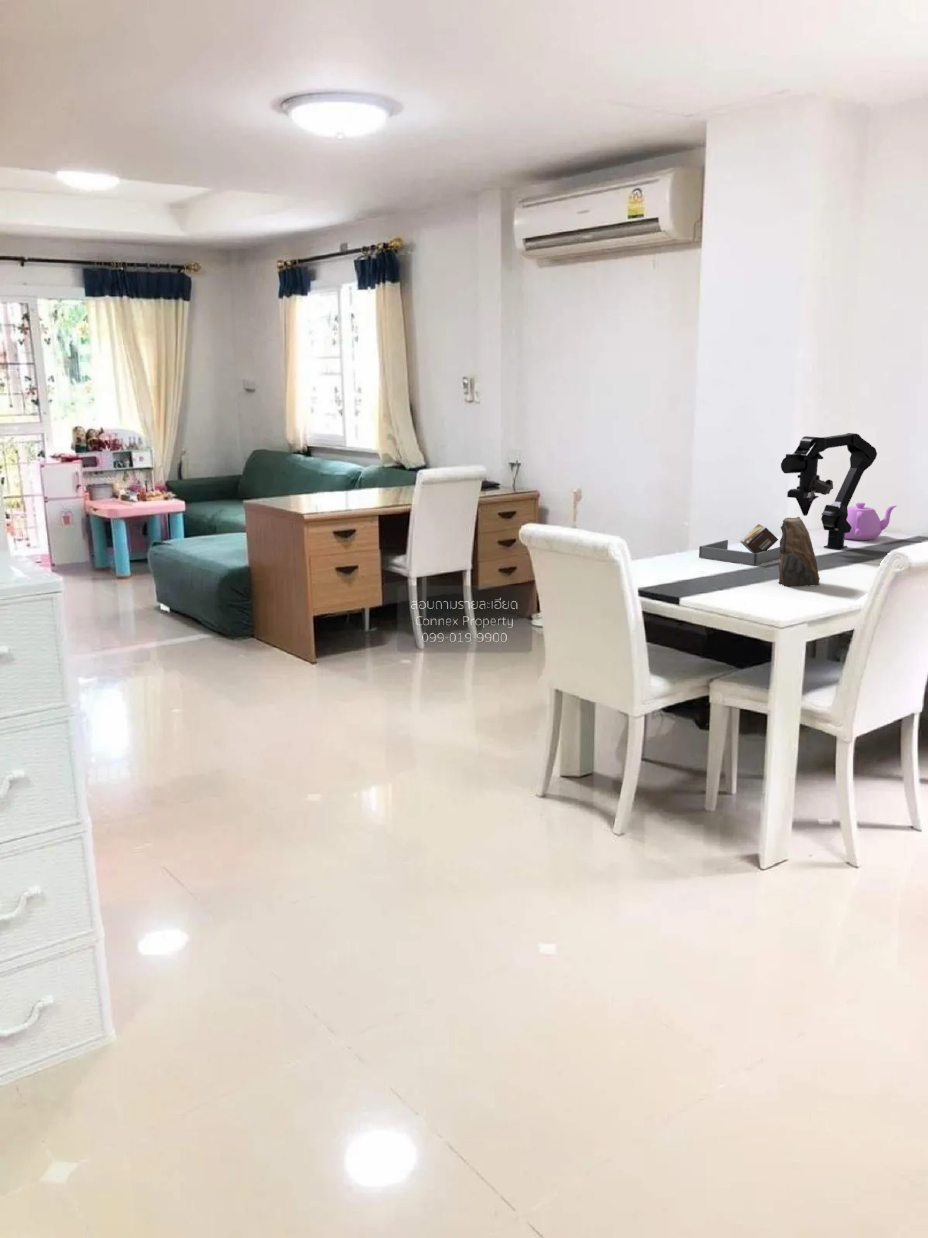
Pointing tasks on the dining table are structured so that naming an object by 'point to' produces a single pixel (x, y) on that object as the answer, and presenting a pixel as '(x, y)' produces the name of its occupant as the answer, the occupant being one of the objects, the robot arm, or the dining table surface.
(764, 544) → the coffee box
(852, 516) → the teapot
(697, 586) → the dining table surface
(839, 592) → the dining table surface
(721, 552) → the box
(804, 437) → the robot arm
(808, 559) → the brown rock
